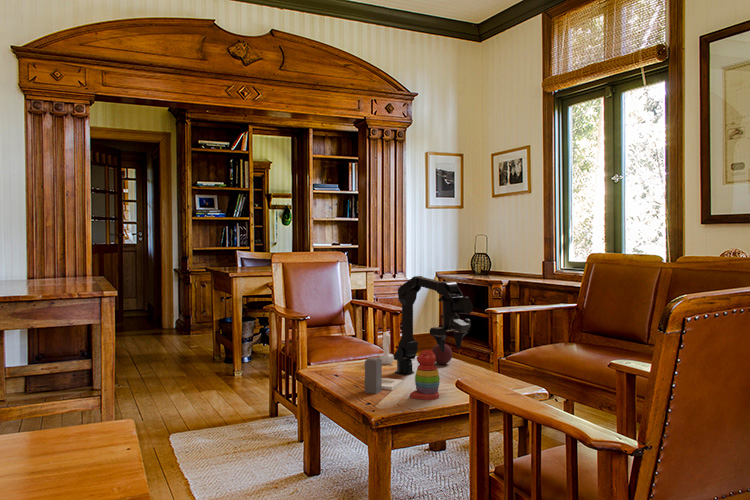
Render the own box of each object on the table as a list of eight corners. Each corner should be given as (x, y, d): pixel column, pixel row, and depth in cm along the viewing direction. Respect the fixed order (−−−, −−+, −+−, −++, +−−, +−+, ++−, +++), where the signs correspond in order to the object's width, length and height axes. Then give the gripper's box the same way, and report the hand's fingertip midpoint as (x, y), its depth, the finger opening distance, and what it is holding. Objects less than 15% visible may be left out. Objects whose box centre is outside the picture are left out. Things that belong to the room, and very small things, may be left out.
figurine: (391, 360, 271) (391, 330, 271) (395, 365, 261) (395, 333, 261) (377, 361, 270) (377, 330, 270) (380, 365, 260) (380, 334, 260)
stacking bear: (423, 391, 216) (423, 346, 216) (445, 395, 210) (445, 349, 209) (407, 397, 208) (407, 350, 208) (429, 402, 201) (429, 354, 201)
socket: (365, 386, 223) (365, 383, 223) (377, 379, 234) (377, 377, 234) (392, 390, 218) (392, 387, 218) (403, 382, 229) (403, 380, 228)
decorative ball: (453, 366, 258) (453, 345, 258) (432, 366, 258) (432, 345, 258) (450, 361, 268) (450, 341, 268) (430, 361, 268) (430, 341, 268)
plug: (364, 392, 214) (364, 358, 214) (370, 389, 219) (370, 356, 219) (376, 394, 212) (376, 360, 212) (381, 390, 217) (381, 357, 217)
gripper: (448, 315, 212) (449, 356, 211) (479, 311, 223) (480, 350, 223) (428, 314, 220) (429, 352, 220) (459, 310, 232) (460, 346, 232)
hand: (450, 350), depth 224 cm, fingers open, 9 cm apart
